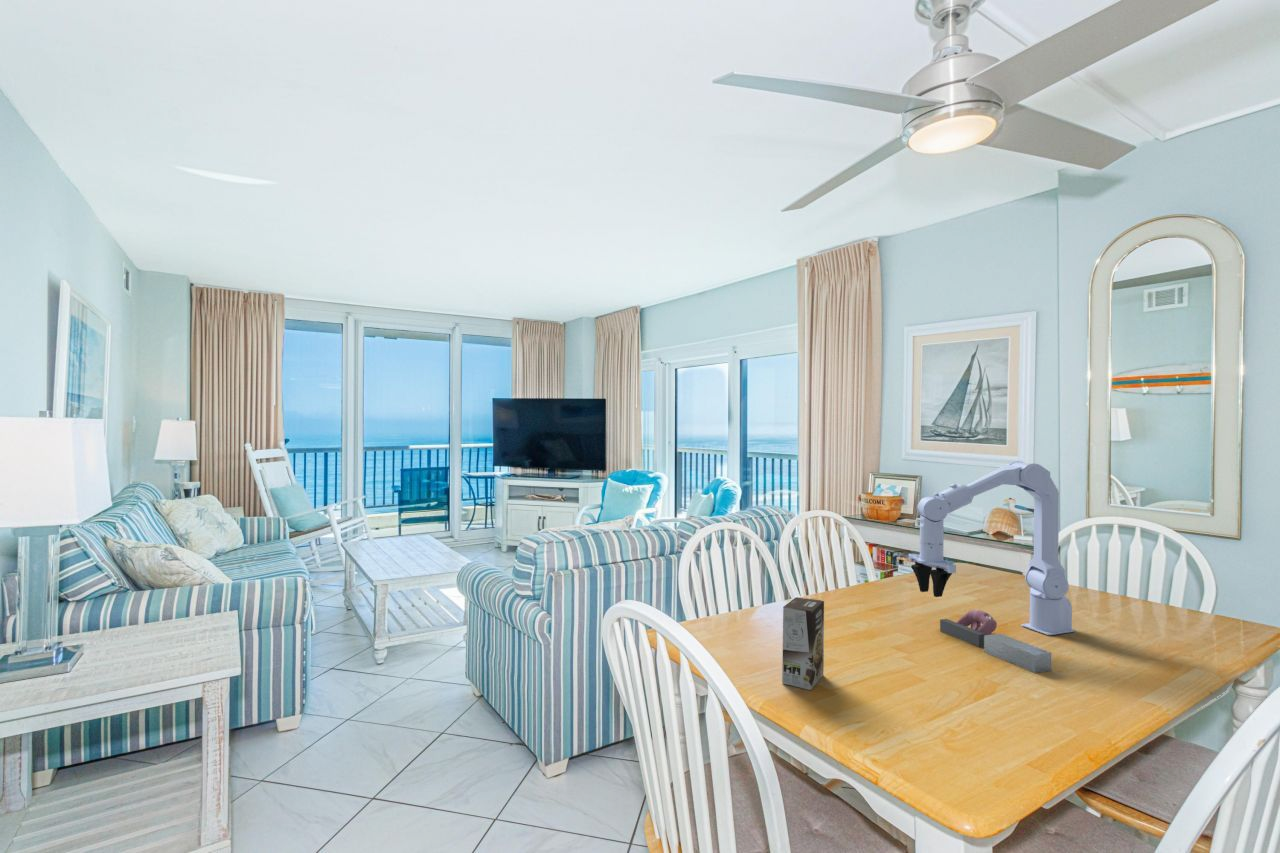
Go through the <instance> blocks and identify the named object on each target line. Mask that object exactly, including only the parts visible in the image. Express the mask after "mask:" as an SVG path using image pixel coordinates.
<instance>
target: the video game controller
mask: <svg viewBox="0 0 1280 853" xmlns="http://www.w3.org/2000/svg"><path fill="white" fill-rule="evenodd" d="M956 623H959V624H961V625H964V626H966V627H969V626H970V628H972V629H974V630H977V631H979V632H982V633H984V634H985V635H991V634H992V633H994V632H995V630H996V629H997V625H998V624H997V621H996V620H995V619H994V617H993V616H992V615H991V614H990V613H988V612H987V611H984V610H981V609H974V608H972V609H971V610H968V611H967V612H966V613H965V615H963V616H962V617H960V618H959V619H958V620H957V621H956Z"/></svg>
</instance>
